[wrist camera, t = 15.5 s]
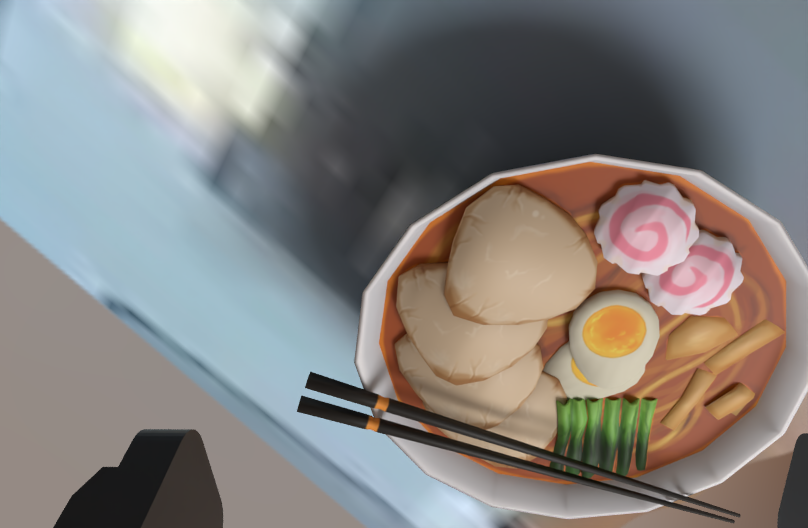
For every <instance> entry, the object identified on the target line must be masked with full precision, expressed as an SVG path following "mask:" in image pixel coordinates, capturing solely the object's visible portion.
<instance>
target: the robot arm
mask: <svg viewBox="0 0 808 528" xmlns="http://www.w3.org/2000/svg"><path fill="white" fill-rule="evenodd" d="M53 528H223V508H222V502H221V498H220V495H219V492H218V489H217V486H216V483H215V479H214V476H213V473H212V470H211V466H210V463H209V460H208V457H207V454H206V450H205V448H204V444H203V441H202V438H201V436H200V434H199V433H198V432H197V431H196V430H171V429H168V430H167V429H164V430H163V429H160V430H159V429H154V430H153V429H152V430H151V429H148V430H147V429H144V430H141V431H140V432H139V433H138V434H137V435H136V436H135V438H134V439H133V441H132V442H131V444H130V446H129V448H128V450H127V452H126V453H125V455H124V457H123V459H122V461H121V463H120V465H119V466H118V467H102V468H101V469H100V470H99V471H98V472H97V473H96V474H95V475H94V476H93V477H92V478H91V479H89V480H88V481H87V482H86V483H85V484H84V485H83V486H82V487H81V488H80V489H79V490H78V491H77V492H76V493H75V494H73V495H72V497H71V498H70V500H69V502H68V503H67V505H66V507H65V508H64V510H63V512H62V514H61V515H60V517H59V519H58V520H57V522H56V524H55V526H54V527H53ZM778 528H808V434H807V433H806V434H801V435H800V436H799V437H798V439H797V441H796V444H795V448H794V452H793V456H792V460H791V464H790V468H789V472H788V476H787V480H786V485H785V488H784V492H783V496H782V500H781V504H780V508H779V513H778Z"/></svg>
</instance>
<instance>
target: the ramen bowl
mask: <svg viewBox="0 0 808 528" xmlns="http://www.w3.org/2000/svg"><path fill="white" fill-rule="evenodd" d="M354 363H355V366H356V369H357V371H358V374H359V377H360V380H361V383H362V385H363V388H364V389H361V388H358V387H355V386H352V385H349V384H346V383H343V382H340V381H337V380H334V379H331V378H328V377H325V376H322V375H319V374H316V373H313V372H310V374H309V377H308V380H307V383H306V386H305V388H307V389H310V390H314V391H317V392H321V393H324V394H327V395H331V396H334V397H337V398H341V399H344V400H347V401H351V402H354V403H357V404H361V405H364V406H367V407H370V408H371V410H372V413H373V416H374V417H372V416H370V415H367V414H364V413H360V412H357V411H353V410H350V409H346V408H343V407H339V406H336V405H332V404H329V403H325V402H322V401H318V400H315V399H312V398H308V397H305V396H301V399H300V402H299V406H298V409H297V412H300V413H304V414H308V415H312V416H316V417H320V418H324V419H328V420H332V421H335V422H339V423H343V424H347V425H351V426H355V427H359V428H363V429H371V430H373V431H375V432H378V433H382V434H386V435H387V436H388V437H389V438H390V439H391V440H392V441H393V442H394V443H395V444H396V445H397V446H398V447H399V448H400V449H401V450H402V451H403V452H404V453H405V454H406V455H407V456H408V457H409V458H410V459H411V460H412V461H413V462H414V463H415V464H416V465H417V466H418V467H419V468H420V469H421V470H422V471H423V472H424V473H425V474H426V475H428V476H430V477H432V478H434V479H436V480H438V481H440V482H442V483H444V484H446V485H448V486H450V487H452V488H454V489H456V490H458V491H460V492H462V493H464V494H466V495H468V496H471V497H473V498H475V499H477V500H479V501H481V502H483V503H485V504H487V505H489V506H491V507H496V508H502V509H508V510H514V511H520V512H527V513H533V514H539V515H545V516H551V517H558V518H564V519H575V518H585V517H596V516H607V515H618V514H629V513H640V512H648V511H651V510H653V509H656V508H658V507H661V506H668V507H672V508H676V509H680V510H683V511H687V512H691V513H695V514H699V515H703V516H707V517H711V518H715V519H719V520H723V521H726V522H730V523H734V522H735V521H734V520H732V519H728V518H725V517H722V516H718V515H715V514H711V513H708V512H704V511H701V510H697V509H694V508H690V507H687V506H683V505H680V504H676V503H673V502H674V501H676V500H683V501H686V502H689V503H693V504H696V505H699V506H703V507H706V508H710V509H713V510H717V511H719V512H723V513H726V514H730V515H733V516H736V517H740V514H738V513H735V512H732V511H729V510H726V509H723V508H720V507H717V506H713V505H710V504H708V503H705V502H702V501H699V500H696V499H693V498H690V497H687V496H689V495H692V494H694V493H697V492H700V491H702V490H705V489H707V488H710V487H712V486H715V485H718V484H720V483H722V482H724V481H725V480H726V479H727V478H729V477H730V476H731V475H733V474H734V473H735V472H736V471H738V470H739V469H740V468H742V467H743V466H744V465H745V464H747V463H748V462H749V461H750V460H752V459H753V458H754V457H756V456H757V455H758V454H759V453H761V452H762V451H763V450H764V449H766V448H767V447H768V446H770V445H771V444H772V443H773V442H775V441H776V440H777V439H778V438H780V437H781V436H782V435H784V433H785V432H786V430H787V428H788V426H789V424H790V422H791V421H792V419H793V417H794V415H795V413H796V412H797V410H798V408H799V406H800V404H801V403H802V401H803V399H804V397H805V395H806V393H807V392H808V266H807V265H806V263H805V261H804V260H803V258H802V256H801V255H800V253H799V251H798V249H797V248H796V246H795V244H794V243H793V241H792V239H791V238H790V236H789V234H788V232H787V231H786V229H785V227H784V226H783V224H782V222H781V221H779V220H778V219H776V218H774V217H773V216H771V215H770V214H768V213H767V212H765V211H764V210H762V209H761V208H759V207H757V206H756V205H754V204H753V203H751V202H750V201H748V200H747V199H745V198H743V197H742V196H740V195H739V194H737V193H736V192H734V191H733V190H731V189H730V188H728V187H726V186H725V185H723V184H722V183H720V182H719V181H717V180H716V179H714V178H712V177H711V176H709V175H708V174H706V173H705V172H703V171H702V170H696V169H690V168H683V167H677V166H671V165H664V164H658V163H652V162H645V161H639V160H633V159H626V158H620V157H613V156H607V155H601V154H591V155H585V156H580V157H575V158H569V159H564V160H559V161H553V162H548V163H543V164H538V165H532V166H527V167H522V168H516V169H511V170H506V171H500V172H496V173H492V174H490V175H488V176H487V177H485V178H484V179H482V180H480V181H479V182H477V183H476V184H474V185H473V186H471V187H469V188H468V189H466V190H465V191H463V192H461V193H460V194H458V195H457V196H455V197H453V198H452V199H450V200H449V201H447V202H446V203H444V204H442V205H441V206H439V207H438V208H436V209H434V210H433V211H431V212H430V213H428V214H427V215H425V216H423V217H422V218H420V219H419V220H417V221H415V222H414V223H412V224H411V225H410V226H409V227H408V229H407V230H406V231H405V233H404V234H403V236H402V237H401V238H400V240H399V241H398V243H397V244H396V246H395V247H394V248H393V250H392V251H391V253H390V254H389V255H388V257H387V258H386V260H385V261H384V263H383V264H382V265H381V267H380V268H379V270H378V271H377V273H376V274H375V275H374V277H373V278H372V280H371V281H370V282H369V284H368V285H367V287H366V288H365V290H364V291H363V295H362V303H361V311H360V319H359V328H358V336H357V344H356V352H355V361H354Z"/></svg>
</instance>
